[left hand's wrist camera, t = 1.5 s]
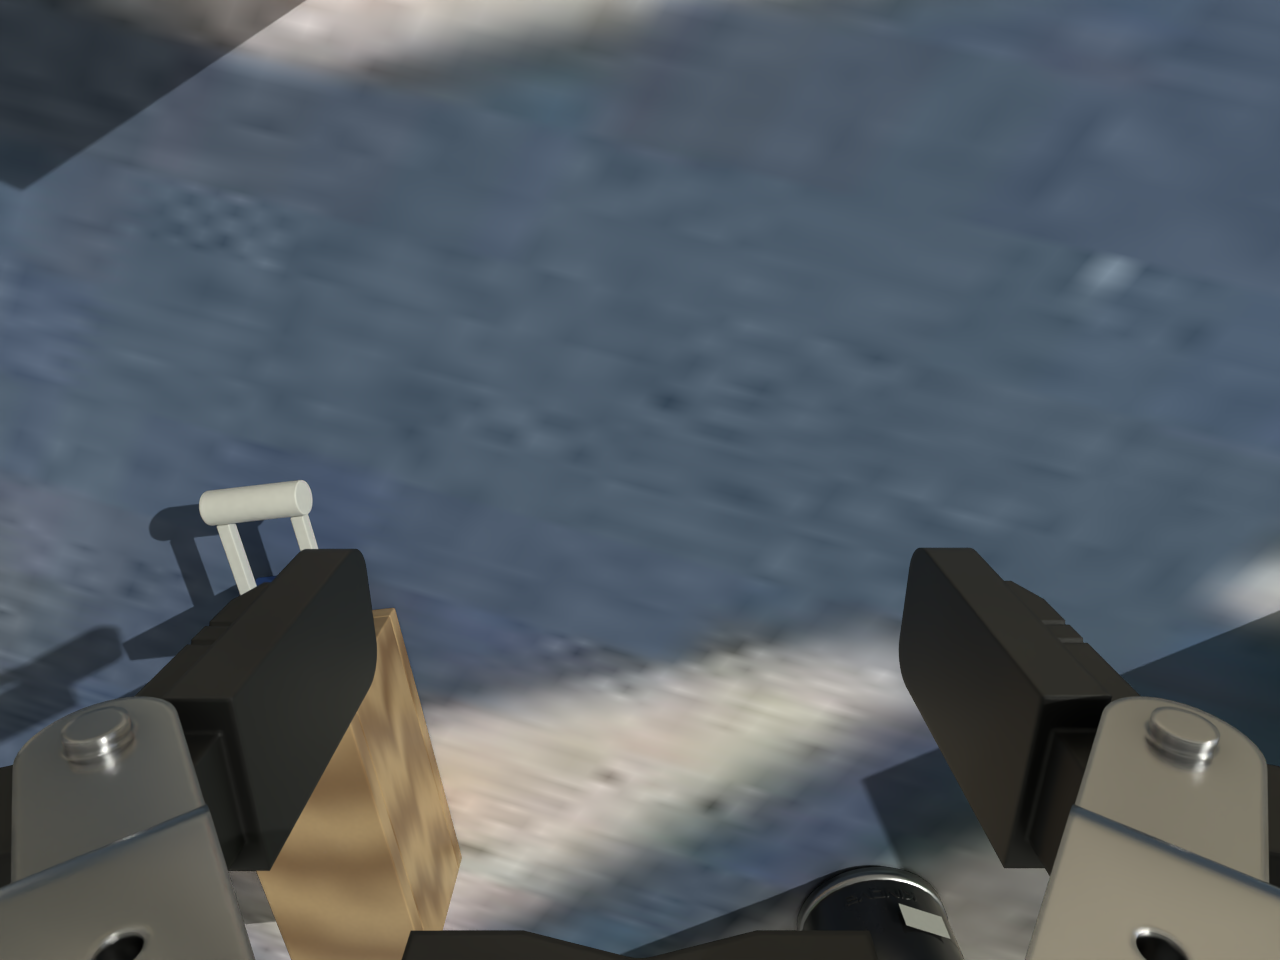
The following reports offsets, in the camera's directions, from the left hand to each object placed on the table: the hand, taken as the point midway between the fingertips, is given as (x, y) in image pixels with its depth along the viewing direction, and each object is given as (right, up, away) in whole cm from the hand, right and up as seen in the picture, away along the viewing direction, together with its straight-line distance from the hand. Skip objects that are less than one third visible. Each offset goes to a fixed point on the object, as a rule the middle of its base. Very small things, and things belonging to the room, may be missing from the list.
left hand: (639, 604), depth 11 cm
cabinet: (-16, -14, +33) cm, 39 cm away
